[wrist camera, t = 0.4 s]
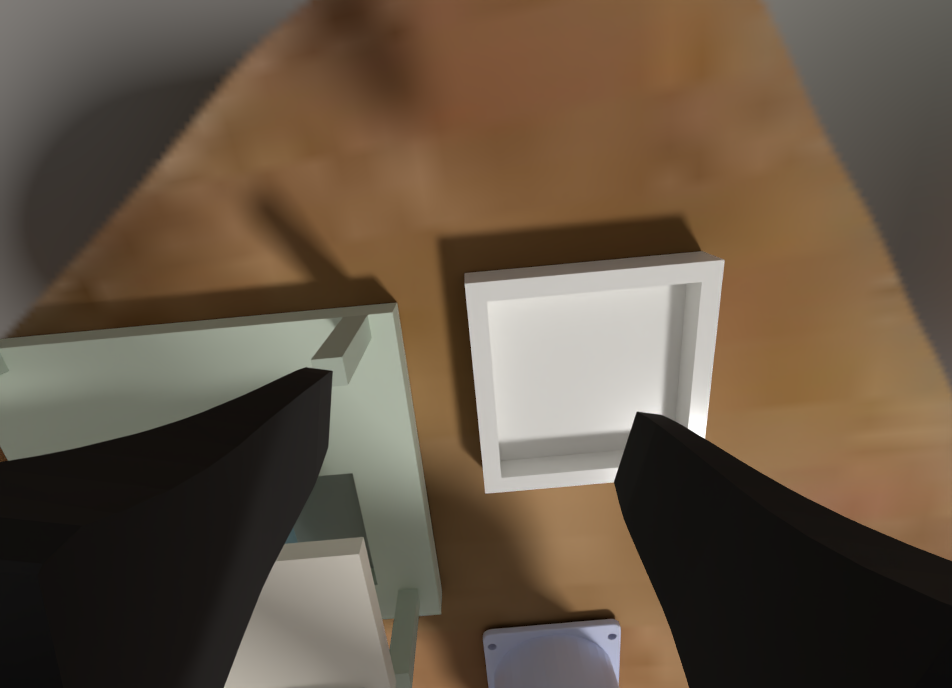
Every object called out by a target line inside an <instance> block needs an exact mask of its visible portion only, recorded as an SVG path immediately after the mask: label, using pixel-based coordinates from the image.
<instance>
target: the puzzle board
mask: <svg viewBox="0 0 952 688" xmlns="http://www.w3.org/2000/svg"><path fill="white" fill-rule="evenodd" d="M305 367H308V368H316V369H323V370H331V371H333V377H332V394H331V411H330V429H329V446H328V450H327V453H326V456H325V459H324V462H323V464H322V467H321V470H320V473H319V476H318V478H317V481H316V484H315V486H314V488H313V490H312V492H311V494H310V496H309V498H308V500H307V502H306V504H305V506H304V508H303V509H302V511H301V513H300V515H299V517H298V519H297V521H296V523H295V525H294V527H293V528H294V531H295V534H296V538H297V541H298V543H300V542H311V541H322V540H334V539H345V538H356V537H364V541H365V546H366V550H367V554H368V559H369V563H370V568H371V572H372V576H373V581H374V585H375V590H376V594H377V598H378V603H379V607H380V612H381V616H382V619H393V618H394V623H393V630H392V637H391V643H390V650H389V651H390V656H391V660H392V664H393V669H394V673H395V678H396V688H412V682H413V671H414V661H415V650H416V640H417V629H418V619H419V616H427V615H439V614H441V606H442V588H441V581H440V575H439V568H438V562H437V555H436V549H435V543H434V536H433V530H432V523H431V517H430V511H429V504H428V498H427V491H426V485H425V479H424V472H423V466H422V459H421V453H420V446H419V440H418V434H417V427H416V421H415V414H414V408H413V402H412V395H411V389H410V382H409V376H408V369H407V363H406V357H405V350H404V344H403V337H402V331H401V325H400V318H399V312H398V305H397V303H386V304H375V305H364V306H353V307H342V308H331V309H320V310H310V311H299V312H288V313H277V314H266V315H255V316H244V317H233V318H223V319H212V320H201V321H190V322H179V323H168V324H157V325H146V326H136V327H125V328H114V329H103V330H92V331H81V332H70V333H59V334H49V335H38V336H27V337H16V338H5V339H0V447H1V449H2V451H3V452H4V454H5V456H6V458H7V460H8V461H10V460H16V459H22V458H28V457H34V456H39V455H44V454H49V453H55V452H60V451H65V450H70V449H75V448H79V447H83V446H88V445H92V444H96V443H100V442H104V441H108V440H112V439H116V438H120V437H124V436H128V435H133V434H137V433H140V432H144V431H147V430H150V429H154V428H157V427H160V426H163V425H166V424H170V423H173V422H176V421H179V420H182V419H185V418H188V417H190V416H193V415H196V414H199V413H201V412H204V411H206V410H209V409H211V408H213V407H216V406H218V405H221V404H223V403H226V402H228V401H230V400H233V399H235V398H238V397H240V396H242V395H245V394H247V393H249V392H251V391H253V390H255V389H258V388H260V387H262V386H264V385H266V384H268V383H271V382H273V381H275V380H277V379H279V378H281V377H283V376H285V375H287V374H290V373H292V372H294V371H296V370H299V369H302V368H305Z"/></svg>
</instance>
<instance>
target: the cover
mask: <svg viewBox="0 0 952 688" xmlns="http://www.w3.org/2000/svg"><path fill="white" fill-rule="evenodd" d="M224 688H396V678H395V673H394V669H393V664H392V660H391V656H390V651H389V647H388V642H387V638H386V634H385V629H384V625H383V620H382V616H381V612H380V607H379V603H378V598H377V594H376V590H375V585H374V581H373V576H372V572H371V568H370V563H369V559H368V554H367V550H366V546H365V541H364V537H356V538H345V539H334V540H322V541H311V542H300V543H288V544H284V546H283V548H282V550H281V552H280V554H279V556H278V558H277V560H276V561H275V563H274V565H273V567H272V569H271V571H270V573H269V576H268V578H267V580H266V582H265V584H264V586H263V588H262V591H261V593H260V596H259V598H258V601H257V603H256V606H255V608H254V611H253V613H252V616H251V618H250V621H249V623H248V626H247V628H246V631H245V633H244V636H243V639H242V641H241V644H240V646H239V649H238V652H237V654H236V657H235V660H234V662H233V665H232V668H231V670H230V673H229V675H228V678H227V681H226V683H225V686H224Z"/></svg>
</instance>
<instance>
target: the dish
mask: <svg viewBox="0 0 952 688" xmlns="http://www.w3.org/2000/svg"><path fill="white" fill-rule="evenodd" d="M723 270H724V259H721V258H718V257H716V256H713V255H711V254H708V253H706V252H703V251H699V252H688V253H677V254H666V255H656V256H645V257H634V258H623V259H612V260H601V261H591V262H580V263H569V264H558V265H547V266H536V267H526V268H515V269H504V270H493V271H482V272H471V273H464V274H465V292H466V302H467V313H468V323H469V333H470V343H471V353H472V363H473V373H474V383H475V394H476V404H477V414H478V424H479V434H480V444H481V454H482V465H483V475H484V485H485V494H487V493H498V492H509V491H521V490H532V489H543V488H554V487H566V486H577V485H588V484H599V483H611V482H614V480H615V477H616V474H617V471H618V468H619V465H620V461H621V458H622V455H623V452H624V449H625V446H626V443H627V440H628V437H629V434H630V431H631V428H632V424H633V421H634V418H635V415H636V412H644V413H652V414H659V415H663V416H665V417H668V418H670V419H672V420H674V421H676V422H677V423H679V424H681V425H683V426H684V427H686V428H688V429H690V430H691V431H693V432H695V433H696V434H698V435H699V436H701V437H703V438H704V439H705V433H706V424H707V415H708V406H709V397H710V388H711V379H712V370H713V360H714V351H715V342H716V333H717V324H718V315H719V306H720V297H721V288H722V279H723Z"/></svg>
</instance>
